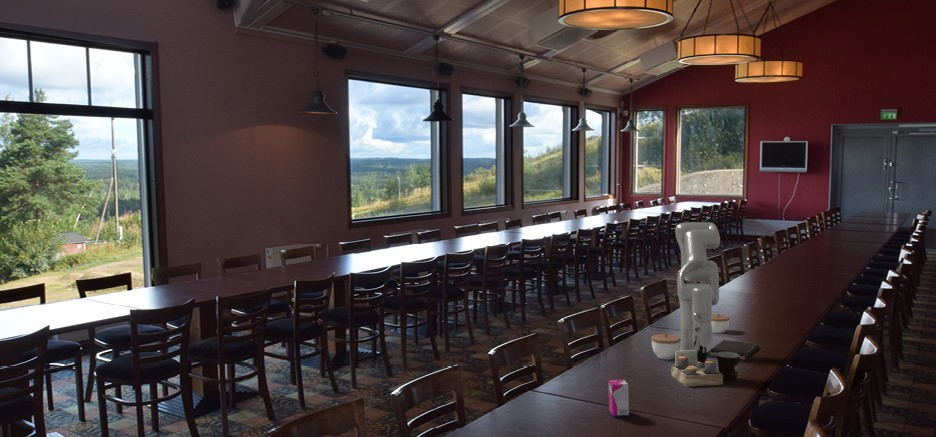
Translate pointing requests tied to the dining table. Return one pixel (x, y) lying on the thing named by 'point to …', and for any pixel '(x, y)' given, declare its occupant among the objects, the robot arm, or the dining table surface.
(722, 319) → the lidded jar
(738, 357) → the coffee mug
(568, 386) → the dining table surface
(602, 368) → the dining table surface
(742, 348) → the hardcover book
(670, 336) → the lidded bowl
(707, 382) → the button board
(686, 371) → the button
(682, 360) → the button
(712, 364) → the button
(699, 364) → the button
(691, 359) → the card
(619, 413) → the supplement box
